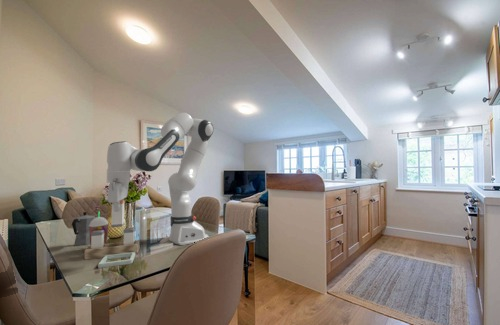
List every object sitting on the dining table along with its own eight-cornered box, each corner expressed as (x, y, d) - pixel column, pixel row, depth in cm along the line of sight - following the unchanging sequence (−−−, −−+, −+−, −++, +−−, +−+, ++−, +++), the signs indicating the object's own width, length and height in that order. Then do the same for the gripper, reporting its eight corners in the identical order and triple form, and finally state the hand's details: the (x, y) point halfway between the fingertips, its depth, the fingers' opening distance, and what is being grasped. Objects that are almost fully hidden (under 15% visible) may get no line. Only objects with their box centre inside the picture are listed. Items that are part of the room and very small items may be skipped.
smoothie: (90, 250, 116) (91, 210, 117) (109, 247, 119) (110, 209, 120) (86, 255, 108) (86, 213, 109) (106, 253, 112) (107, 212, 113)
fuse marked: (124, 224, 101) (124, 199, 101) (122, 226, 97) (122, 200, 97) (113, 225, 99) (114, 199, 100) (111, 227, 95) (111, 201, 96)
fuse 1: (104, 253, 107) (104, 229, 107) (101, 256, 103) (101, 232, 104) (93, 254, 106) (94, 230, 106) (90, 257, 102) (91, 232, 102)
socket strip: (139, 251, 113) (139, 240, 113) (137, 256, 107) (137, 244, 107) (89, 257, 106) (90, 245, 107) (84, 263, 100) (84, 250, 100)
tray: (135, 258, 104) (135, 251, 104) (131, 267, 95) (131, 259, 95) (105, 262, 100) (105, 255, 100) (98, 271, 91) (98, 264, 91)
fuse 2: (134, 249, 111) (134, 227, 112) (133, 252, 107) (133, 229, 108) (125, 251, 110) (125, 228, 110) (123, 253, 106) (123, 230, 106)
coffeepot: (84, 241, 131) (84, 210, 132) (100, 241, 131) (101, 209, 132) (62, 250, 116) (63, 215, 117) (81, 250, 116) (82, 214, 117)
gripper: (121, 178, 90) (121, 214, 89) (130, 177, 109) (130, 206, 109) (103, 179, 88) (103, 215, 87) (115, 177, 107) (115, 207, 107)
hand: (118, 210), depth 98 cm, fingers closed on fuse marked, 4 cm apart
